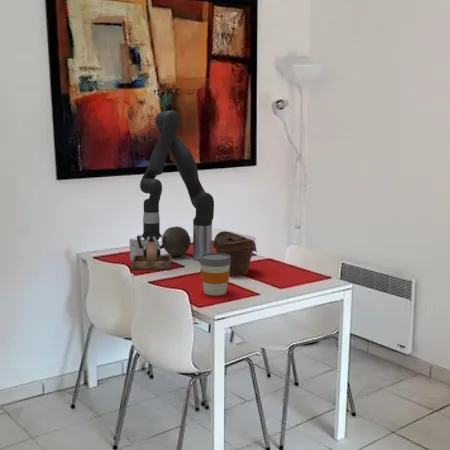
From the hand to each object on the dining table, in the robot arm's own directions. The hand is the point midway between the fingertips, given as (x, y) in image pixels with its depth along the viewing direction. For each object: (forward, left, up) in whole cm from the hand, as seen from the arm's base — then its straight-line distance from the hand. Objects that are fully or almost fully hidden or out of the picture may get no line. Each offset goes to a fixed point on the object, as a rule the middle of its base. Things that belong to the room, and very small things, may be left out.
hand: (151, 256), depth 292 cm
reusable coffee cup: (-28, +42, -5) cm, 51 cm away
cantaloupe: (-11, -19, -5) cm, 22 cm away
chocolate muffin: (-38, +12, -5) cm, 40 cm away
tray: (0, 0, -4) cm, 4 cm away
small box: (+7, -14, -5) cm, 16 cm away
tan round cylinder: (0, 0, -3) cm, 3 cm away
